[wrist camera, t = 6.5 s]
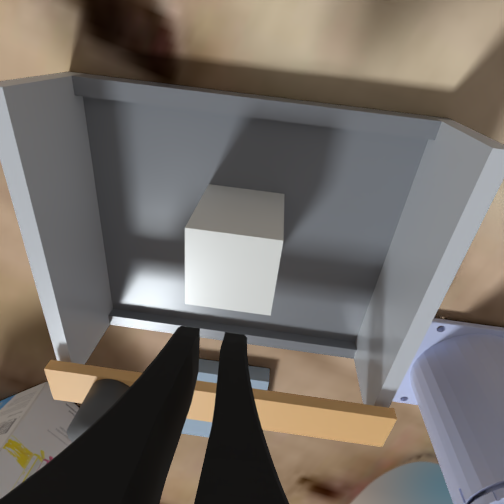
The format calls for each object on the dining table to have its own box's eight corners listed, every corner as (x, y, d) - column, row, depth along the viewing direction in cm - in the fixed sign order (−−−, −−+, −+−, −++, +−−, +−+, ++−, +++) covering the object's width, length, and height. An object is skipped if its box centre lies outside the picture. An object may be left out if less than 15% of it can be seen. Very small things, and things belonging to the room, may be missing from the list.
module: (284, 194, 18) (283, 240, 14) (274, 258, 20) (270, 315, 16) (208, 184, 18) (184, 227, 14) (206, 248, 20) (184, 304, 16)
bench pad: (269, 368, 26) (268, 382, 25) (257, 430, 30) (256, 444, 29) (163, 353, 26) (158, 366, 25) (166, 417, 30) (162, 430, 29)
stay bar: (393, 408, 18) (411, 469, 15) (379, 436, 19) (393, 496, 17) (50, 359, 18) (12, 411, 16) (59, 390, 20) (25, 442, 17)
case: (449, 118, 16) (517, 151, 11) (362, 346, 24) (381, 422, 19) (68, 71, 16) (-21, 84, 12) (105, 311, 24) (61, 376, 20)
